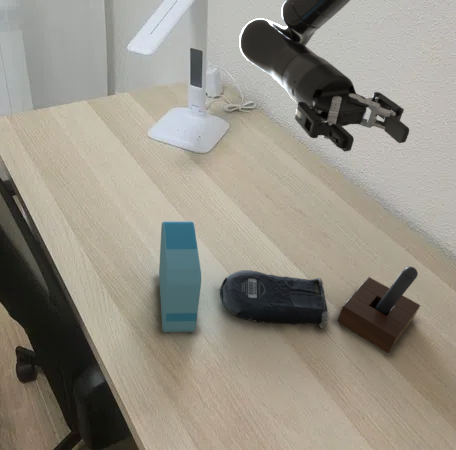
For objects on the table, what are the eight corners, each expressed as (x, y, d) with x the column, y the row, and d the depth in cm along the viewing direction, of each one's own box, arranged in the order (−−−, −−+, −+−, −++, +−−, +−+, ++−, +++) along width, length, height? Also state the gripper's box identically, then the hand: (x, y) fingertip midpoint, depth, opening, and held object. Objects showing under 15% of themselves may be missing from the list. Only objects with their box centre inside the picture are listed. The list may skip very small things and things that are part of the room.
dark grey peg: (370, 313, 82) (409, 261, 72) (381, 320, 81) (422, 269, 71) (365, 320, 81) (403, 269, 71) (376, 328, 80) (416, 277, 70)
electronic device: (312, 289, 87) (219, 272, 86) (325, 269, 83) (228, 250, 82) (316, 341, 81) (217, 323, 80) (331, 322, 77) (226, 302, 76)
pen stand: (362, 292, 85) (368, 276, 83) (412, 320, 81) (420, 304, 79) (336, 321, 80) (342, 305, 78) (388, 353, 76) (396, 337, 74)
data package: (194, 336, 77) (202, 277, 70) (162, 337, 77) (166, 277, 69) (187, 275, 87) (193, 216, 79) (158, 275, 86) (161, 216, 79)
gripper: (279, 68, 80) (338, 123, 69) (363, 58, 84) (433, 109, 72) (270, 113, 85) (324, 172, 74) (350, 103, 89) (413, 157, 77)
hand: (378, 141), depth 73 cm, fingers open, 8 cm apart
